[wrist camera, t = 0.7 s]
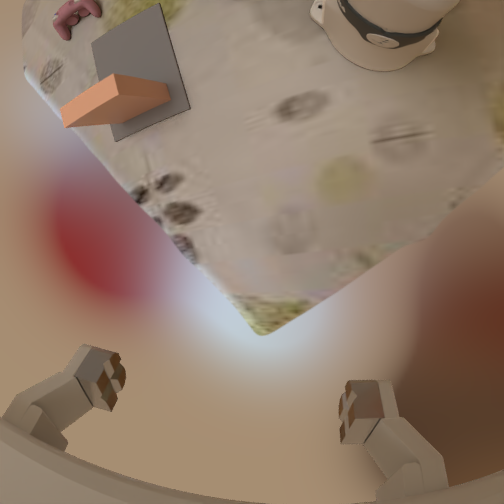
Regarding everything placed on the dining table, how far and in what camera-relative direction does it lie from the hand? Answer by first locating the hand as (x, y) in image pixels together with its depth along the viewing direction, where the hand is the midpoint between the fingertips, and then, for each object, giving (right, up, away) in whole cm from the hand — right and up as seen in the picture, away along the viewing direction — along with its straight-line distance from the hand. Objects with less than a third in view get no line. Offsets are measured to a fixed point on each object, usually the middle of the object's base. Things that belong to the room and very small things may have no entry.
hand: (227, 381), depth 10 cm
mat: (-19, +34, +32) cm, 51 cm away
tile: (-17, +28, +34) cm, 47 cm away
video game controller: (-32, +49, +30) cm, 66 cm away
